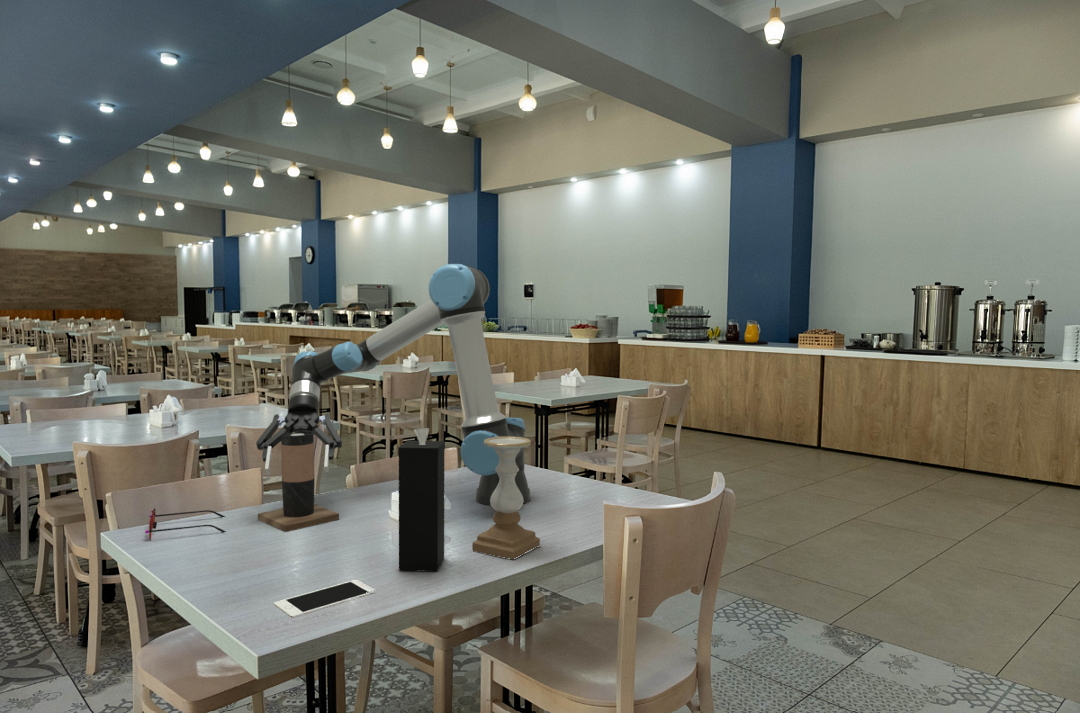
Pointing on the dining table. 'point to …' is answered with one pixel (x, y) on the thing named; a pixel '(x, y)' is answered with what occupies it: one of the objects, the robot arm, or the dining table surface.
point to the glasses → (153, 525)
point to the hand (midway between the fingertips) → (296, 470)
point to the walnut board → (297, 519)
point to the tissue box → (421, 503)
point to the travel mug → (298, 473)
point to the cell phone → (322, 597)
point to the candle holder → (506, 505)
